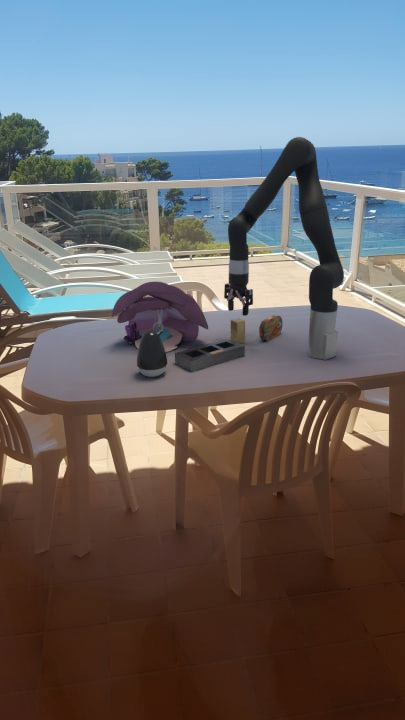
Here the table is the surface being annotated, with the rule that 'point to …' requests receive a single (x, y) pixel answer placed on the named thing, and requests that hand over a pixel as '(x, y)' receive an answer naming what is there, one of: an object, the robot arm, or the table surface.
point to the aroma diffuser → (151, 354)
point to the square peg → (238, 330)
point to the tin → (270, 327)
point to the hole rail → (209, 354)
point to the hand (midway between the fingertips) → (237, 312)
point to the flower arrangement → (160, 314)
